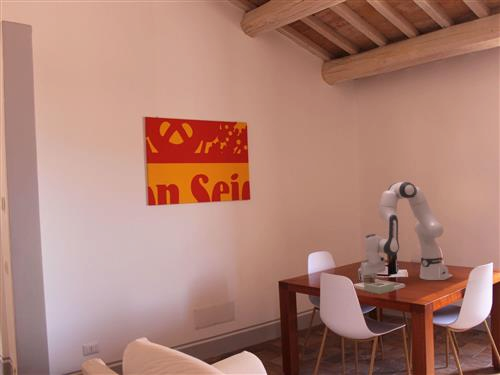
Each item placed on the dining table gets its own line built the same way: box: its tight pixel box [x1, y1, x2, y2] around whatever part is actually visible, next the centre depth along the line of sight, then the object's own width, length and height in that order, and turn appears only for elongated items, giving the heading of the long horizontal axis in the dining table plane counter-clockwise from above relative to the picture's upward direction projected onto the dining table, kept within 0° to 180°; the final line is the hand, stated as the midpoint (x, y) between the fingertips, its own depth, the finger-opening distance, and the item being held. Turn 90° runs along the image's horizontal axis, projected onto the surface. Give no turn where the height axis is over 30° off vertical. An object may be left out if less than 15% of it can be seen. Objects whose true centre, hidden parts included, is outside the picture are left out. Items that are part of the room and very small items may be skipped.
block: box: [364, 277, 375, 284], centre depth 300 cm, size 5×5×3 cm
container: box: [357, 261, 374, 282], centre depth 318 cm, size 8×8×13 cm
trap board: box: [353, 278, 406, 295], centre depth 294 cm, size 24×24×4 cm
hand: (373, 280), depth 302 cm, fingers closed
